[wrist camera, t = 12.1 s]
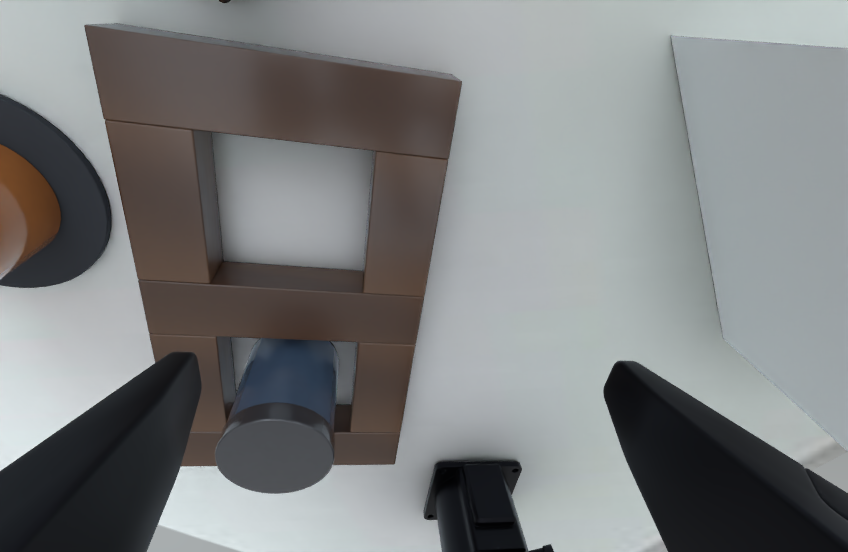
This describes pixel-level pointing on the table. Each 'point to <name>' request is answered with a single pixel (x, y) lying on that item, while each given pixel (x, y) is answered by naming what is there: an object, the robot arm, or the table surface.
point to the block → (776, 208)
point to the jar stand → (260, 283)
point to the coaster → (58, 198)
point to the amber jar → (24, 211)
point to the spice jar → (282, 417)
